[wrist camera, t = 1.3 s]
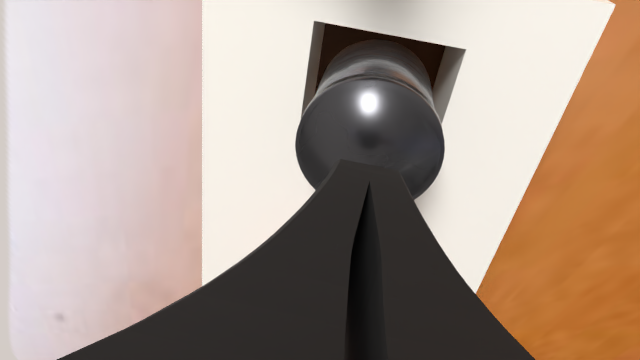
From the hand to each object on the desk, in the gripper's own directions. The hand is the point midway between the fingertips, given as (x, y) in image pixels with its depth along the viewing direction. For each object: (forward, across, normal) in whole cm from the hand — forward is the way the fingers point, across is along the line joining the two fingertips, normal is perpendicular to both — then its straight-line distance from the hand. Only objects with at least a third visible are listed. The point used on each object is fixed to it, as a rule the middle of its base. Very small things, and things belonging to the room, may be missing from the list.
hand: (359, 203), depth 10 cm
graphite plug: (+6, 0, 0) cm, 6 cm away
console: (+9, 0, +4) cm, 10 cm away
